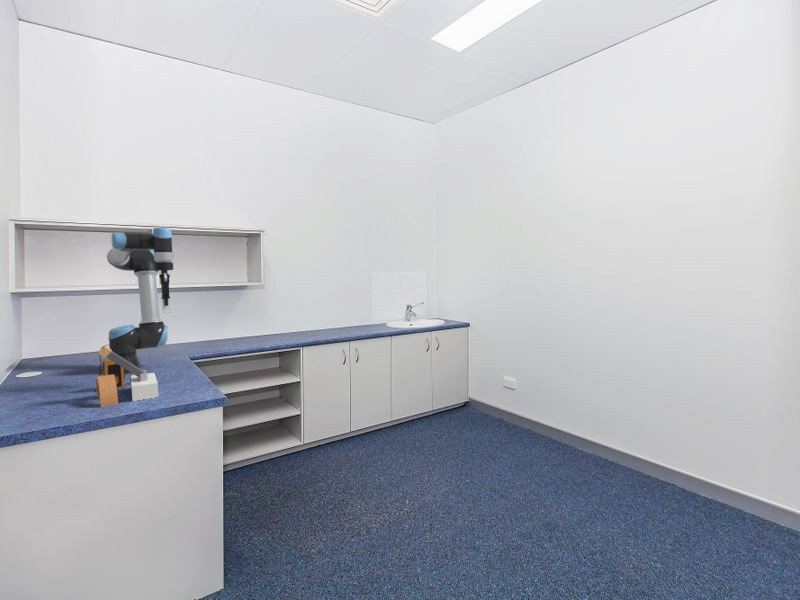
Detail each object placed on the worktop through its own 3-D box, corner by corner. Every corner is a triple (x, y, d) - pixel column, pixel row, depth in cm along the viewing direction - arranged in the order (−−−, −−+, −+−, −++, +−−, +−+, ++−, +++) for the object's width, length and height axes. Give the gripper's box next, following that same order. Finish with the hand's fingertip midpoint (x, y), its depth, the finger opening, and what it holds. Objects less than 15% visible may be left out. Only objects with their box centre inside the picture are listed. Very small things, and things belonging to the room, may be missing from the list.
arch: (113, 393, 184) (112, 370, 183) (118, 404, 168) (116, 379, 167) (96, 395, 180) (95, 372, 179) (100, 407, 164) (98, 382, 164)
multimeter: (125, 381, 202) (123, 339, 200) (133, 385, 196) (131, 341, 194) (88, 388, 191) (85, 344, 189) (95, 392, 184) (92, 346, 183)
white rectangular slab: (131, 388, 190) (130, 368, 189) (155, 385, 194) (153, 366, 194) (132, 401, 171) (131, 379, 170) (158, 397, 176) (157, 375, 175)
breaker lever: (142, 378, 184) (98, 351, 175) (148, 372, 185) (104, 345, 176) (143, 381, 180) (98, 353, 171) (148, 374, 181) (104, 347, 172)
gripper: (174, 261, 195) (177, 313, 196) (171, 262, 206) (174, 311, 207) (155, 261, 191) (158, 314, 192) (153, 262, 201) (156, 312, 203)
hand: (166, 312), depth 200 cm, fingers closed
